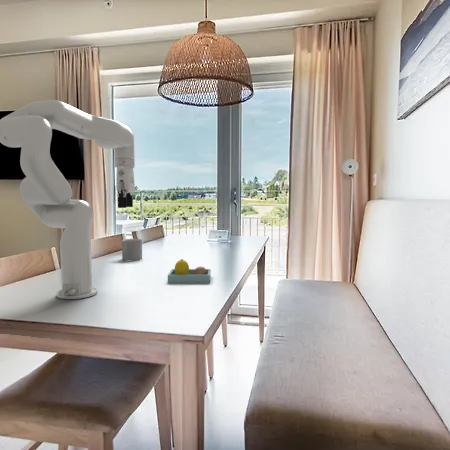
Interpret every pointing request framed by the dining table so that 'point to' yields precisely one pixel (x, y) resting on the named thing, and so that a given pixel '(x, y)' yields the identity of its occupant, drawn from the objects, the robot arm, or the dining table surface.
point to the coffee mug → (132, 249)
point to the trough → (189, 277)
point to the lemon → (181, 267)
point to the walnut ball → (200, 271)
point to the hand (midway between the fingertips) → (125, 207)
